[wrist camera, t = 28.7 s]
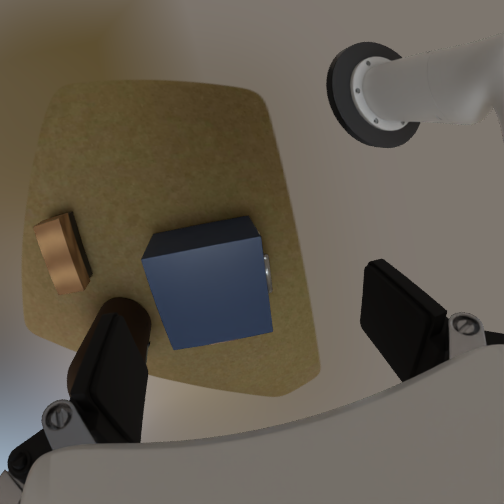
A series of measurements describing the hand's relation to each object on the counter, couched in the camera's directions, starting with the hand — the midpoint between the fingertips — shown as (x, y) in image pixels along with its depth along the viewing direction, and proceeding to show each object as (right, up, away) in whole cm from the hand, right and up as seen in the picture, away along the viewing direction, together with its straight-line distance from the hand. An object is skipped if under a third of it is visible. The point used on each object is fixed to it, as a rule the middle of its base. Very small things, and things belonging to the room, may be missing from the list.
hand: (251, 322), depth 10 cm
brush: (-28, +3, +27) cm, 39 cm away
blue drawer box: (-6, 0, +32) cm, 33 cm away
